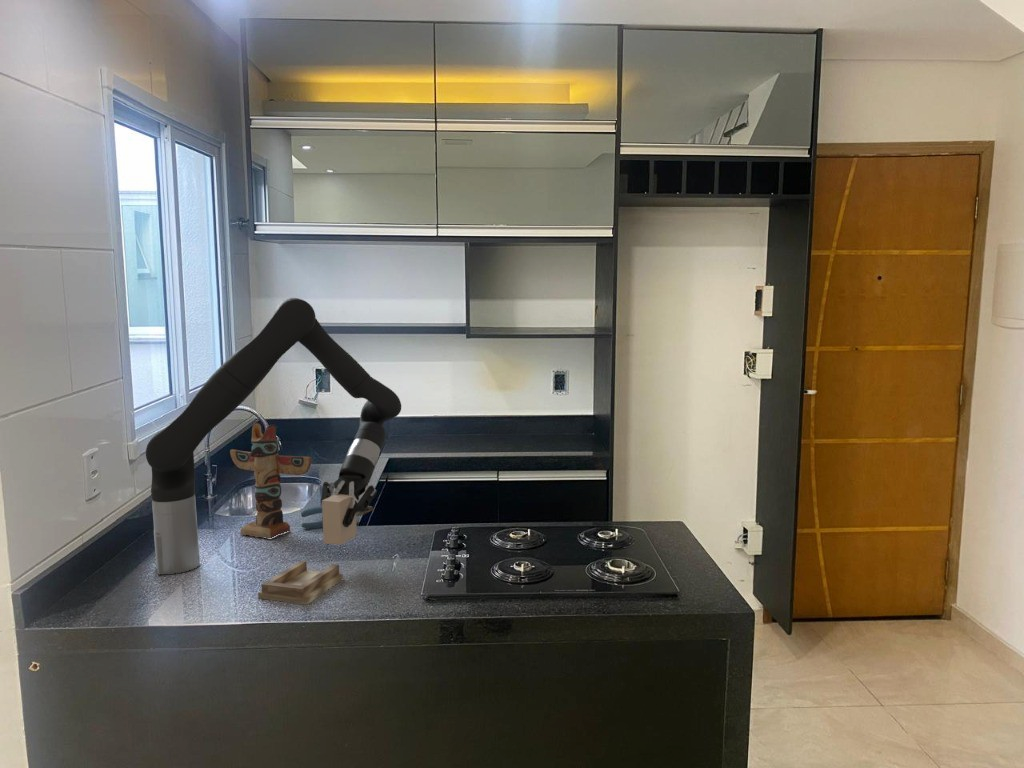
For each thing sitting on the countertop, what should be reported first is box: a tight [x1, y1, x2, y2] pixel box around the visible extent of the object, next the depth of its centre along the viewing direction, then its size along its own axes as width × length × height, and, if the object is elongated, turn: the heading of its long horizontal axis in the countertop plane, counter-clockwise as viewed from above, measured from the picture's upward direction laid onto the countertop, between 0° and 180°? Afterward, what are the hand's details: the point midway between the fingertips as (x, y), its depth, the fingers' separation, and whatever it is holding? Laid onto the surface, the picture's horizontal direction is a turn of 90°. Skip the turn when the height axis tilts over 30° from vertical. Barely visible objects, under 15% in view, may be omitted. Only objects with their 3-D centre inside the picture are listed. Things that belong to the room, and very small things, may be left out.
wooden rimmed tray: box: [257, 560, 344, 605], centre depth 153 cm, size 14×12×3 cm
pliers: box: [300, 505, 374, 530], centre depth 198 cm, size 20×2×6 cm, turn 115°
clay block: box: [321, 494, 358, 546], centre depth 163 cm, size 7×4×10 cm, turn 162°
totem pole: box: [229, 422, 312, 538], centre depth 190 cm, size 29×7×30 cm, turn 65°
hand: (335, 524), depth 161 cm, fingers closed on clay block, 4 cm apart
